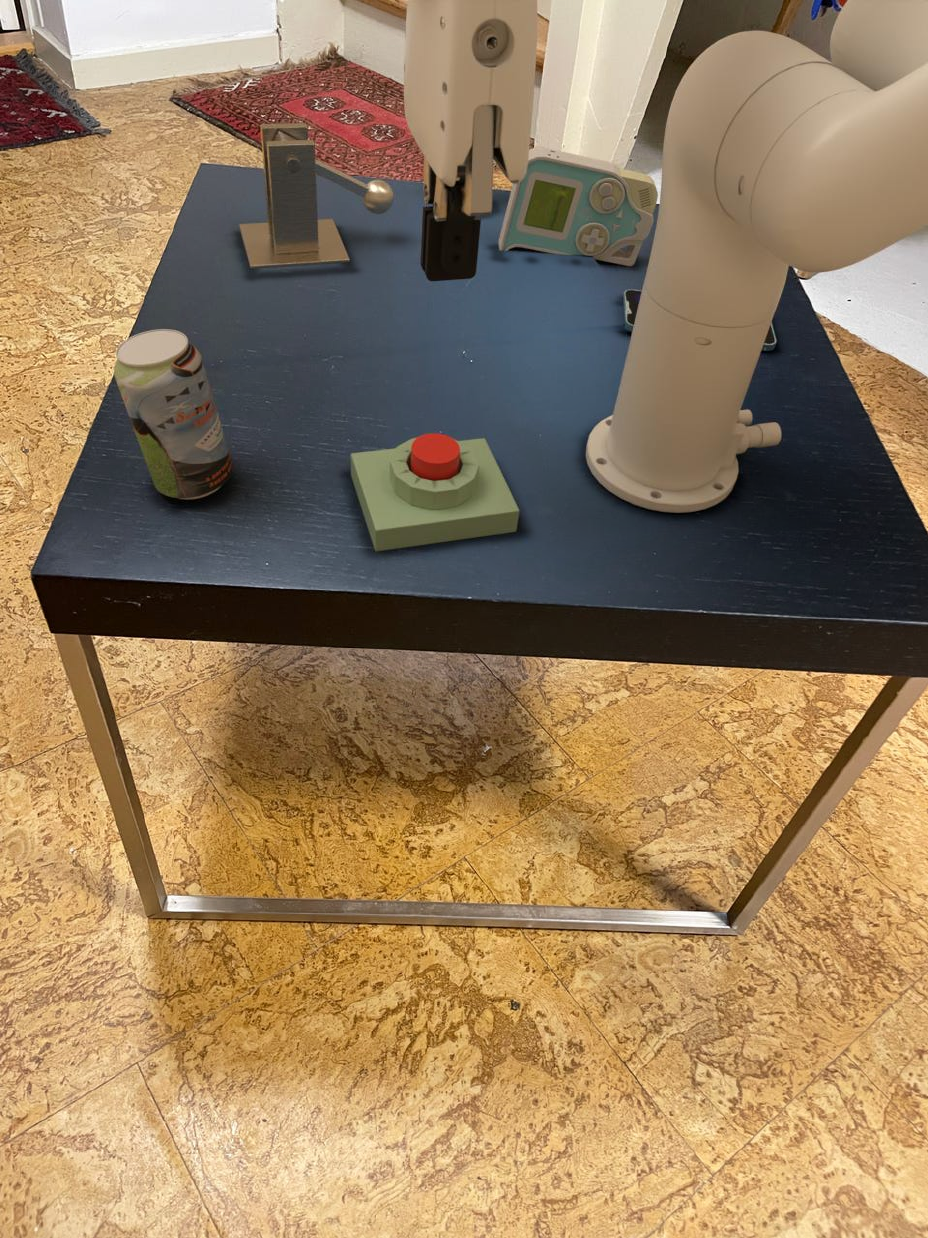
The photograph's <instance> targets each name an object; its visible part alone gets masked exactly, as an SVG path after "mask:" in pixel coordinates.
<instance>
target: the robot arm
mask: <svg viewBox="0 0 928 1238" xmlns="http://www.w3.org/2000/svg"><path fill="white" fill-rule="evenodd" d="M830 34H831V35H830V40H829V53H830V60H831V61H830V60H828V59H827V58H825V57H823V56H822V55H820V54H818V53H817V52H816V51H814V50H812V49H810V48H809V47H807V45H804V44H802V43H801V42H799V41H797V40H795V39H793V38H790V37H788V36H786V35H783V34H780V33H777V32H776V33H775V32H770V31H767V30H745V31H739V32H736V33H733V34H730V35H727V36H725V37H723V38H721V39H719V40H717V41H716V42H714V43H713V44H711V45H710V46H709V47H707V48H706V49H705V50H704V51H703V52H701V53H700V55H698V57H696V58H695V60H694V61H693V62H692V64H690V66H689V67H688V68H687V70H686V72H685V73H684V75H683V77H682V78H681V80H680V82H679V84H678V85H677V87H676V90H675V92H674V96H673V98H672V100H671V103H670V107H669V109H668V113H667V114H668V115H667V119H666V123H665V130H664V138H663V148H662V164H661V165H662V166H661V181H660V182H661V183H660V194H659V195H660V196H659V205H658V213H657V221H656V225H655V232H654V237H653V241H652V246H651V251H650V254H649V260H648V264H647V268H646V271H645V272H646V273H645V277H644V281H643V285H642V288H641V290H642V293H641V297H640V301H639V305H638V310H637V314H636V318H635V323H634V327H633V331H632V332H631V337H630V340H629V344H628V349H627V353H626V356H625V360H624V361H625V362H624V366H623V370H622V374H621V379H620V383H619V388H618V391H617V395H616V400H615V404H614V408H613V413H612V415H609V416H607V417H606V418H603V419H602V420H601V421H599V422H598V423H597V424H596V425H595V426H594V427H593V429H592V430H591V431H590V433H589V435H588V438H587V441H586V447H585V448H586V449H585V460H586V464H587V466H588V468H589V470H590V472H591V474H592V475H593V477H594V478H595V479H596V481H597V482H598V483H599V484H600V485H601V486H603V487H604V488H605V489H606V490H607V491H608V492H610V493H612V494H613V495H615V496H616V497H618V498H619V499H621V500H622V501H623V500H624V501H625V502H628V503H629V504H632V505H634V506H637V507H639V508H644V509H647V510H651V511H657V512H662V513H673V514H675V513H676V514H680V513H694V512H698V511H702V510H707V509H709V508H712V507H714V506H716V505H718V504H720V503H721V502H723V501H724V500H726V498H727V497H728V496H729V495H730V494H731V492H733V488H734V487H735V484H736V482H737V479H738V475H739V471H740V469H739V461H738V459H737V455H740V454H743V453H746V452H747V450H748V449H749V448H757V449H758V448H767V447H773V446H778V445H779V444H780V442H781V440H782V430H781V429H782V428H781V426H780V424H779V423H778V422H775V421H774V422H773V421H772V422H765V423H757V424H754V425H752V423H753V418H754V417H753V413H752V411H751V410H750V409H748V408H747V409H742V407H743V403H744V401H745V398H746V395H747V392H748V390H749V386H750V384H751V381H752V378H753V375H754V372H755V370H756V367H757V364H758V361H759V358H760V356H761V352H762V351H763V350H762V347H763V344H764V341H765V339H766V336H767V333H768V330H769V327H770V324H771V321H772V322H773V318H774V315H775V312H776V311H777V309H778V306H779V302H780V300H781V297H782V293H783V291H784V287H785V284H786V281H787V276H788V271H789V267H791V268H794V269H796V270H799V271H801V272H807V273H828V272H833V271H838V270H841V269H845V268H847V267H850V266H852V265H855V264H858V263H860V262H862V261H864V260H867V259H869V258H870V257H872V256H874V255H876V254H878V253H880V252H882V251H884V250H886V249H887V248H889V247H891V246H893V245H895V244H896V243H898V242H900V241H902V240H904V239H906V238H907V237H909V236H911V235H913V234H914V233H916V232H918V231H919V230H921V229H923V228H925V227H926V226H928V0H846V2H845V3H844V5H843V6H842V8H841V10H840V11H839V13H838V15H837V18H836V20H835V22H834V25H833V27H832V30H831V33H830ZM537 46H538V0H407V2H406V18H405V36H404V57H403V58H404V59H403V107H404V117H405V122H406V126H407V128H408V130H409V132H410V134H411V136H412V138H413V139H414V142H415V143H416V145H417V146H418V149H419V150H420V152H421V153H422V155H423V173H422V174H423V179H422V180H423V181H422V185H423V186H422V187H423V189H422V190H423V193H422V194H423V200H424V204H425V205H429V206H423V207H422V220H421V221H422V222H421V241H420V242H421V244H420V267H421V269H422V271H423V272H424V275H425V278H426V279H427V280H428V281H429V282H443V281H444V282H445V281H459V280H470V279H473V278H475V276H476V274H477V267H478V257H479V247H480V246H479V245H480V236H481V235H480V234H481V226H482V225H481V223H482V222H481V221H482V220H483V216H491V215H492V213H493V212H492V211H493V195H494V194H493V192H494V191H493V189H494V188H493V187H494V162H495V164H496V165H497V166H498V168H499V170H500V171H501V172H502V173H503V175H504V176H505V177H506V179H507V180H508V181H509V182H510V183H511V184H512V185H513V184H518V183H520V182H521V181H522V180H523V179H524V177H525V175H526V172H527V166H528V157H529V150H530V145H531V133H532V131H531V130H532V122H533V110H534V109H533V108H534V95H535V83H536V68H537V49H538V48H537ZM430 205H432V206H430Z"/></svg>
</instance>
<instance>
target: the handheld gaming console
mask: <svg viewBox="0 0 928 1238" xmlns="http://www.w3.org/2000/svg"><path fill="white" fill-rule="evenodd" d="M511 186H512V187H511V190H510V194H509V199H508V203H507V205H506V206H507V207H506V211H505V214H504V218H503V222H502V226H501V229H500V234H499V237H498V250H499V251H500V252H501V251H504V252H508V251H509V250H510V249H513V248H523V249H529V250H533V251H538V252H543V253H548V254H551V255H553V254H554V255H563V256H564V255H565V256H587V257H588V256H589V257H592V258H593V260H597V261H603V262H607V263H612V264H617V265H622V266H626V267H632V266H634V265H635V264H636V261H637V258H638V256H639V253H640V250H641V248H642V245H643V242H644V240H645V239H647V238H648V237H649V235H650V232H651V229H652V227H653V224H654V220H655V218H654V212H655V209H656V206H657V202H658V197H659V193H658V189H657V186H656V183H655V181H654V180H653V178H652V177H651V176H650V175H648V174H646V173H644V172H643V173H642V172H638V171H633V170H630V169H625V168H620V167H618V166H617V165H615V164H614V163H612V162H610V161H606V160H603V159H597V158H593V157H588V156H584V155H580V154H575V153H571V152H566V151H562V150H558V149H553V148H548V147H544V146H534V147H532V148H529V157H528V166H527V172H526V175H525V177H524V179H523V180H522V181H521V182H520V183H518V184H513V183H512V185H511ZM627 246H628V248H627V249H626V250H621V249H622V248H625V247H627Z"/></svg>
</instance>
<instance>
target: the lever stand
mask: <svg viewBox="0 0 928 1238" xmlns="http://www.w3.org/2000/svg"><path fill="white" fill-rule="evenodd" d="M259 127H260V138H261V151H262V152H261V153H262V166H263V179H264V191H265V203H266V204H265V205H266V217H267V222H254V223H253V222H252V223H250V222H249V223H239V224H238V228H239V231H240V235H241V239H242V242H243V247H244V251H245V254H246V257H247V261H248V264H249V268H250V269H251V270H252V269H253V270H256V269H270V268H271V269H272V268H284V267H300V266H315V265H331V264H347V263H348V264H349V263H351V259H350V257H349V254H348V252H347V250H346V248H345V245H344V243H343V240H342V237H341V234H340V232H339V230H338V228H337V225H336V223H335V220H334V219H333V218H326V219H325V218H324V219H319V217H318V216H319V215H318V194H317V193H318V192H317V189H318V187H317V174H316V161H315V159H316V144H315V141H314V139H309V131H308V130H309V129H308V128H309V127H308V125H307V122H290V123H289V122H288V123H287V122H286V123H285V122H284V123H260V126H259ZM278 131H280V132H282V133H284V134H286V135H288V136H290V137H292V138H294V139H296V140H292V141H274V140H275V138H276V135H277V133H278Z"/></svg>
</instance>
